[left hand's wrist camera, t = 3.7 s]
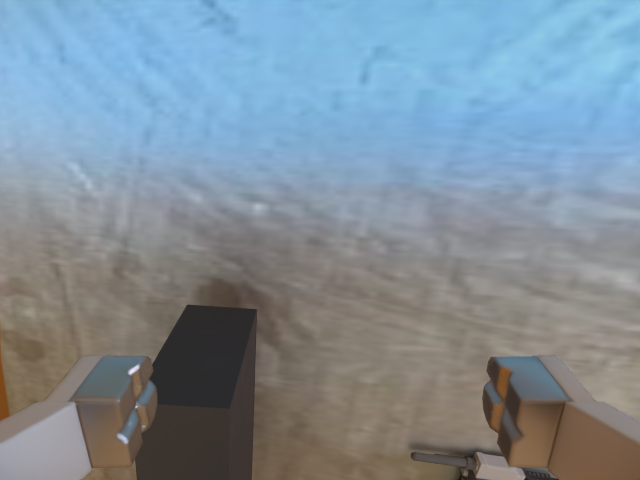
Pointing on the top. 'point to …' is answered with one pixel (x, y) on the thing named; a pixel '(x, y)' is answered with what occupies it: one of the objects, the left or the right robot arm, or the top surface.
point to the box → (203, 399)
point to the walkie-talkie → (482, 467)
